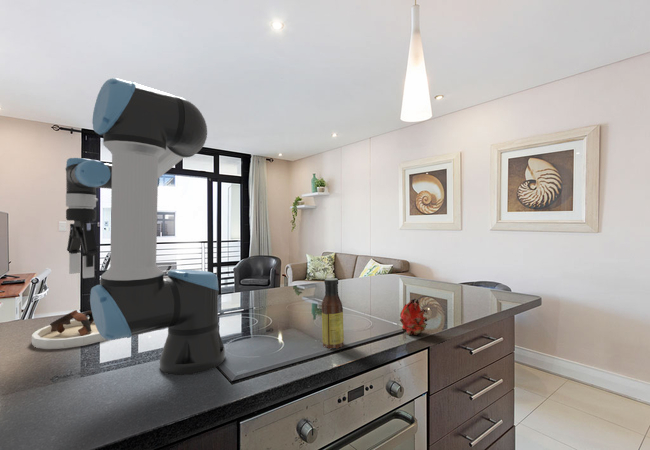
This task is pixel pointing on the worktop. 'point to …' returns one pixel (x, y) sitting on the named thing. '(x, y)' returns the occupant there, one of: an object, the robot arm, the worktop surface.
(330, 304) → the sauce bottle
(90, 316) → the brown jagged angular piece
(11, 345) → the worktop surface
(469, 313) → the worktop surface
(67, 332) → the shallow round plate
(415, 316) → the dragon fruit
